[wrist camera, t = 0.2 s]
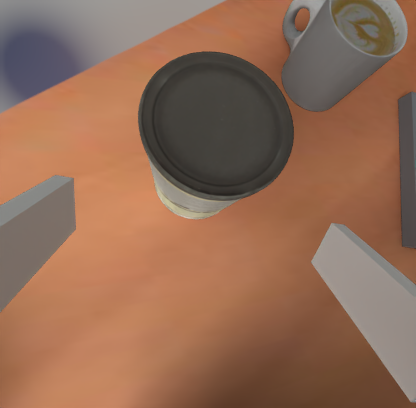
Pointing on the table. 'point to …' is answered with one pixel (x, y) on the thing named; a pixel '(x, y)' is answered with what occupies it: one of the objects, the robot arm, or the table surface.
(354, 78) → the coffee mug
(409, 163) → the base plate
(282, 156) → the coffee can
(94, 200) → the table surface
